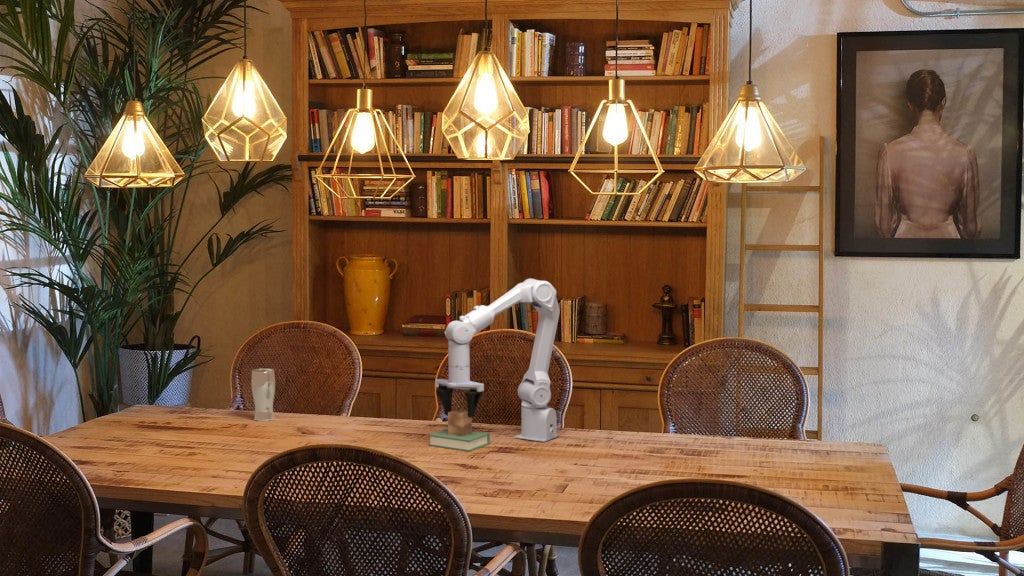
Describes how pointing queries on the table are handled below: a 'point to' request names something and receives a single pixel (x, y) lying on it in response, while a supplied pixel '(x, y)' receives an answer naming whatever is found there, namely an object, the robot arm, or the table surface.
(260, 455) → the table surface
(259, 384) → the beer glass
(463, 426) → the brown wooden block
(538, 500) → the table surface
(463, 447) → the green book
